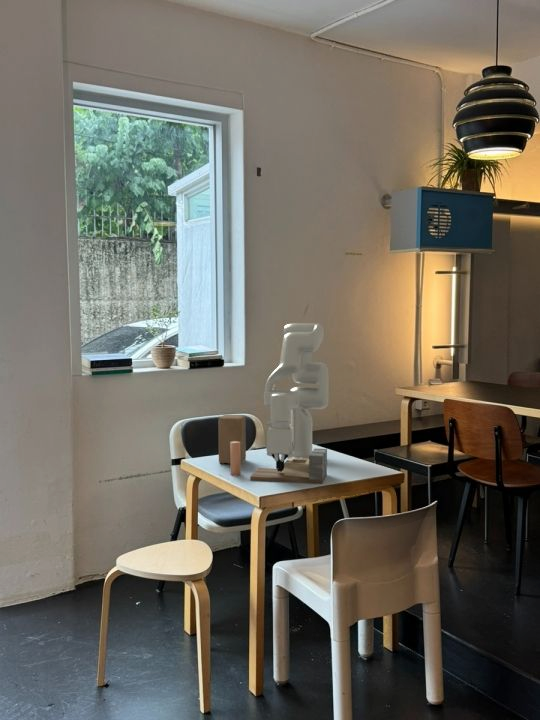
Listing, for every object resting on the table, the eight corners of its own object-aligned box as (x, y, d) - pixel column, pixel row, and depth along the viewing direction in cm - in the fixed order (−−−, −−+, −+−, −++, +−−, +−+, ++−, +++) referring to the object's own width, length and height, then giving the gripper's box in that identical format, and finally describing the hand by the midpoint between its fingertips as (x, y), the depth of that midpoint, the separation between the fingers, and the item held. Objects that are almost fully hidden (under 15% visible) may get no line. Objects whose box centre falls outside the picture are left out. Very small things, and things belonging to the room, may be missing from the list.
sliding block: (288, 470, 277) (288, 457, 276) (313, 471, 275) (313, 458, 274) (284, 476, 267) (284, 463, 266) (309, 477, 265) (309, 464, 264)
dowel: (232, 472, 280) (231, 441, 279) (241, 473, 279) (241, 441, 278) (229, 475, 276) (229, 443, 275) (239, 475, 275) (239, 443, 274)
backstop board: (258, 471, 281) (258, 446, 281) (326, 474, 276) (326, 448, 275) (250, 480, 268) (250, 453, 267) (322, 483, 262) (322, 456, 261)
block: (240, 465, 293) (240, 418, 292) (218, 464, 295) (217, 417, 294) (246, 459, 303) (246, 414, 301) (224, 458, 305) (223, 414, 303)
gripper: (259, 425, 269) (259, 471, 271) (296, 427, 265) (296, 474, 267) (264, 422, 276) (264, 467, 278) (300, 423, 273) (300, 469, 274)
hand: (280, 470), depth 272 cm, fingers closed
